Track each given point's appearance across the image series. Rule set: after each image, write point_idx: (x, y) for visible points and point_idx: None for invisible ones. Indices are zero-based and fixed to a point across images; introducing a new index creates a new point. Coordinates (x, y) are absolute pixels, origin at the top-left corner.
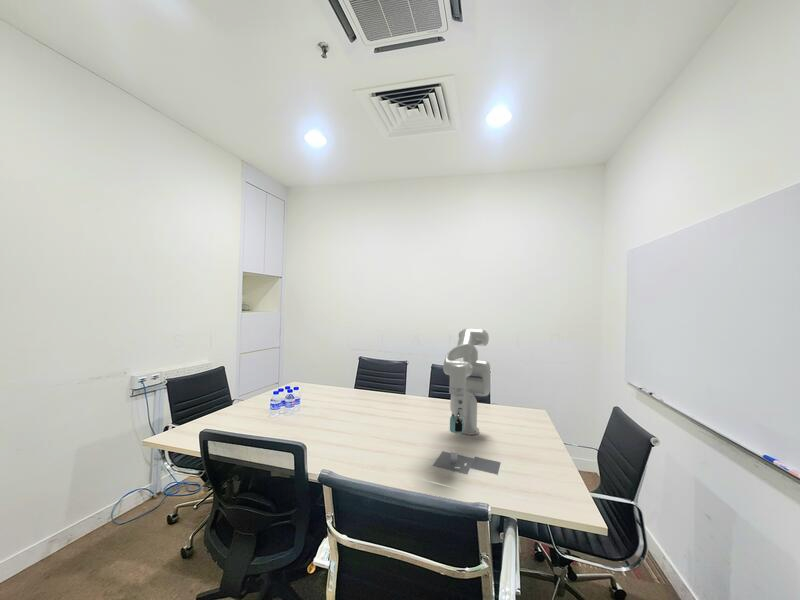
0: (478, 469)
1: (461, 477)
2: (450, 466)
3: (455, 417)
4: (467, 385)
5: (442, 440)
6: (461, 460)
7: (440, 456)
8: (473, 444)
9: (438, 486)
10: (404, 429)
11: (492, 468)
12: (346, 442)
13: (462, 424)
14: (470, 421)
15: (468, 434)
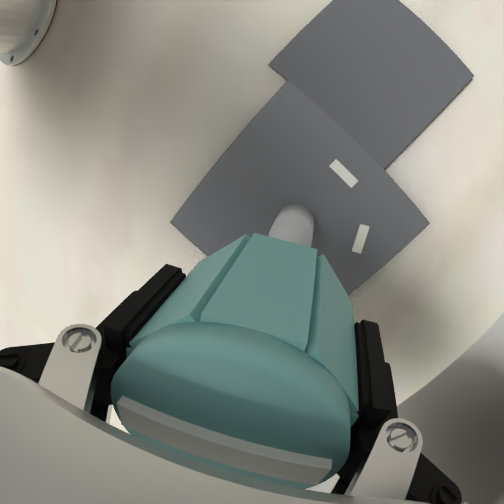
0: (411, 134)
1: (425, 253)
2: (333, 262)
3: (201, 449)
4: None
5: (67, 164)
6: (291, 169)
7: None
8: (126, 19)
9: (426, 363)
10: (10, 274)
11: (419, 54)
12: None
13: (340, 345)
14: (2, 10)
15: (48, 25)
